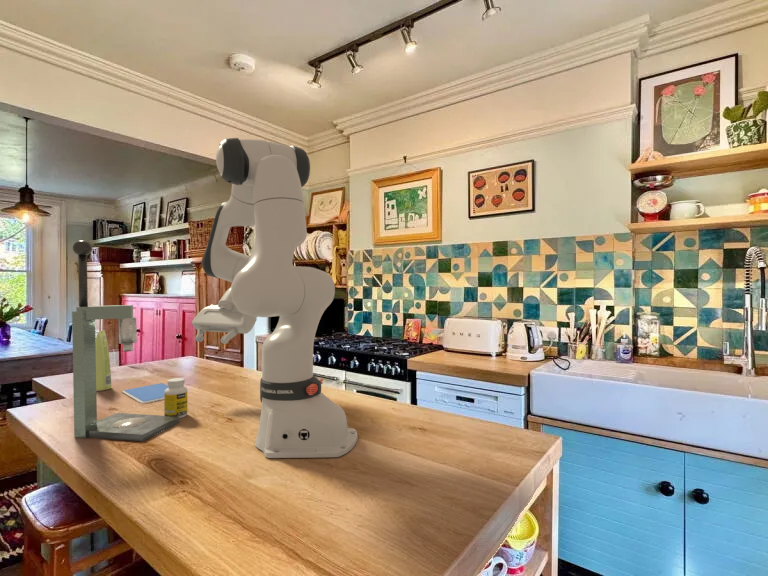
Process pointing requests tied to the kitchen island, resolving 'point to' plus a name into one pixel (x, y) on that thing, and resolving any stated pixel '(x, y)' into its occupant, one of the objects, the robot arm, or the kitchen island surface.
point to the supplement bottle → (175, 398)
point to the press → (85, 368)
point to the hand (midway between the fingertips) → (210, 341)
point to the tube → (102, 362)
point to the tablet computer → (147, 393)
